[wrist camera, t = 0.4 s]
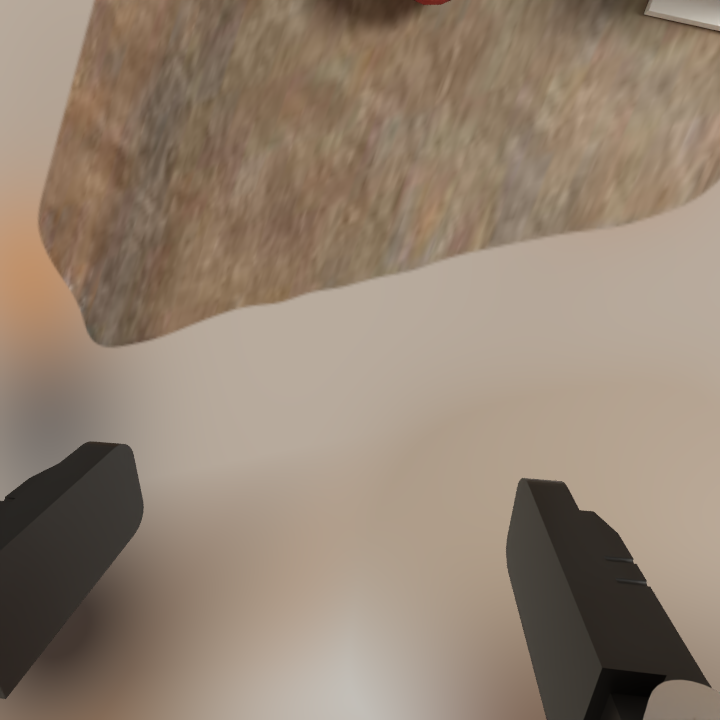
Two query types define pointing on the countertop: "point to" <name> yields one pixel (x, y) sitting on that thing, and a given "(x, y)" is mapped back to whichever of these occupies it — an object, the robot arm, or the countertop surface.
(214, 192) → the countertop surface
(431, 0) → the onion
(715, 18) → the mat
